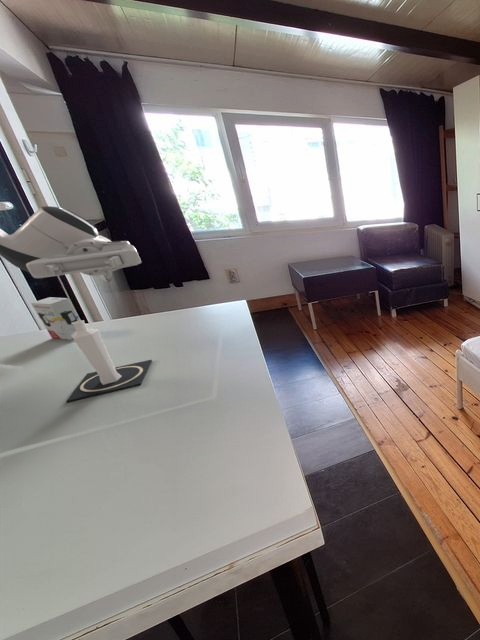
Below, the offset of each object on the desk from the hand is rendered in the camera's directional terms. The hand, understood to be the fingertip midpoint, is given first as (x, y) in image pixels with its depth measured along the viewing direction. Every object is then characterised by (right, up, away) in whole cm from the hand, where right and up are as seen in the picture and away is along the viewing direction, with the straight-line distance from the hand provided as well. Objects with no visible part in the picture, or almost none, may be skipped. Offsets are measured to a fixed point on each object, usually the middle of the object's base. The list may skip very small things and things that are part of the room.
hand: (83, 267), depth 85 cm
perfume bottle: (+5, -27, +1) cm, 27 cm away
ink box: (-34, -15, +29) cm, 47 cm away
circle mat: (+5, -27, +2) cm, 27 cm away
